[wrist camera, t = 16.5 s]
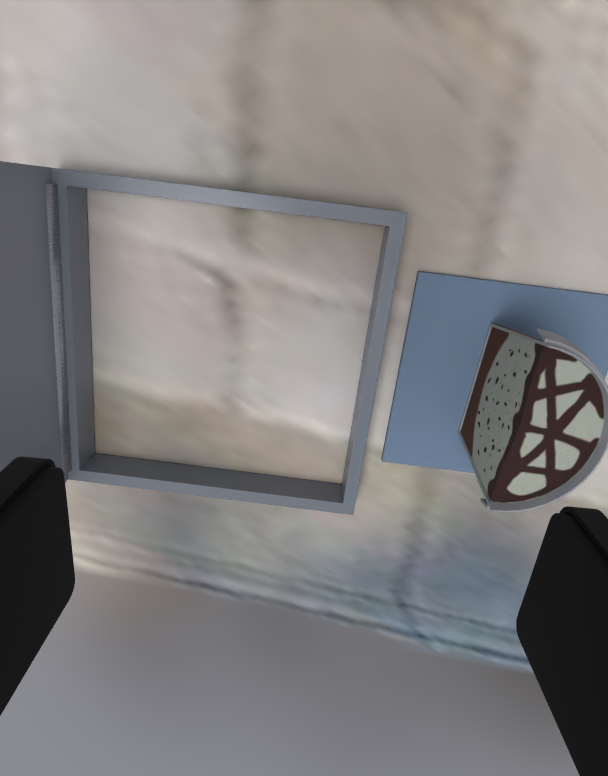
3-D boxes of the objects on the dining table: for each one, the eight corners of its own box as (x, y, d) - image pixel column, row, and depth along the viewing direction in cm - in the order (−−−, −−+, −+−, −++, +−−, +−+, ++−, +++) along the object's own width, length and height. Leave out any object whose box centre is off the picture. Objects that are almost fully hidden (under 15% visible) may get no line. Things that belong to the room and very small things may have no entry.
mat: (417, 271, 38) (418, 272, 37) (628, 297, 38) (632, 298, 37) (381, 458, 43) (382, 461, 43) (565, 481, 43) (567, 484, 43)
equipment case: (58, 168, 36) (-229, 132, 18) (401, 211, 36) (481, 221, 18) (73, 460, 45) (-111, 646, 26) (351, 495, 45) (369, 706, 26)
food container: (524, 459, 42) (581, 533, 33) (452, 447, 42) (488, 518, 33) (575, 317, 38) (657, 354, 28) (495, 303, 38) (551, 336, 28)
